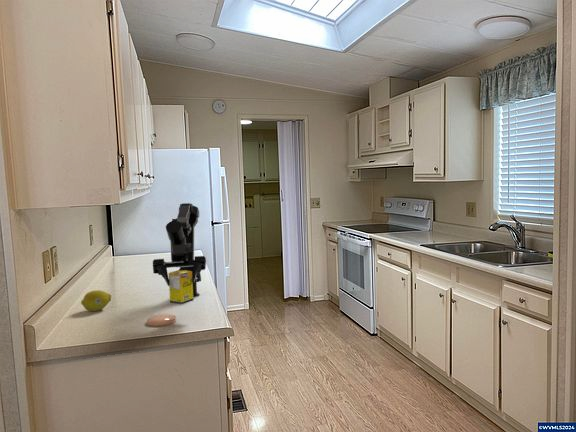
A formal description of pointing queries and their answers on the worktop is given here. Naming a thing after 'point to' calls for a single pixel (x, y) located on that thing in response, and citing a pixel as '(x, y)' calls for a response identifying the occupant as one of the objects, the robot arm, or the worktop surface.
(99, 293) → the lemon
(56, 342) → the worktop surface
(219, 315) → the worktop surface
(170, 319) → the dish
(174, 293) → the supplement box
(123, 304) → the worktop surface
